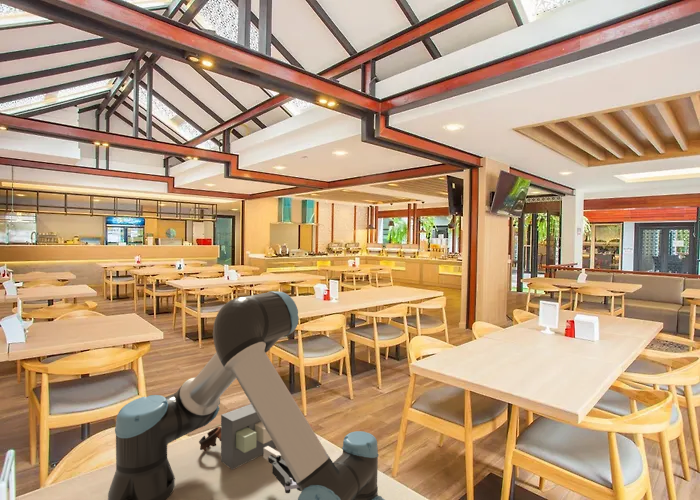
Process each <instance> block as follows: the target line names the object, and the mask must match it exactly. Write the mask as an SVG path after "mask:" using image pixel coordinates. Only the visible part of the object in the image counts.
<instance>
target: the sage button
mask: <svg viewBox="0 0 700 500" xmlns="http://www.w3.org/2000/svg"><path fill="white" fill-rule="evenodd" d="M236 448H237V449H239V450H241V451H242V452H244V453H245V452H248V451H250V450H252V449H254V448H256V432H255V431H253V430H251V429H250V428H248V427H245V428H243V429H240V430H238V431H236Z"/></svg>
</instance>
